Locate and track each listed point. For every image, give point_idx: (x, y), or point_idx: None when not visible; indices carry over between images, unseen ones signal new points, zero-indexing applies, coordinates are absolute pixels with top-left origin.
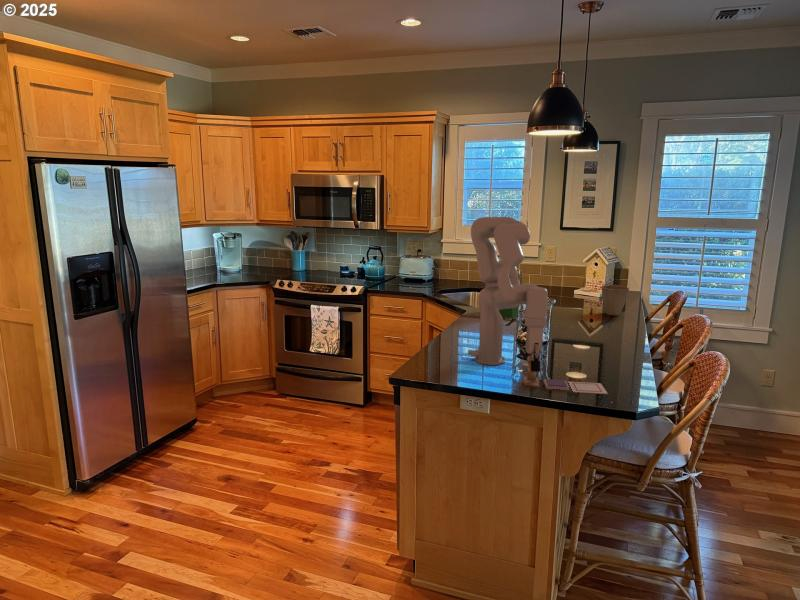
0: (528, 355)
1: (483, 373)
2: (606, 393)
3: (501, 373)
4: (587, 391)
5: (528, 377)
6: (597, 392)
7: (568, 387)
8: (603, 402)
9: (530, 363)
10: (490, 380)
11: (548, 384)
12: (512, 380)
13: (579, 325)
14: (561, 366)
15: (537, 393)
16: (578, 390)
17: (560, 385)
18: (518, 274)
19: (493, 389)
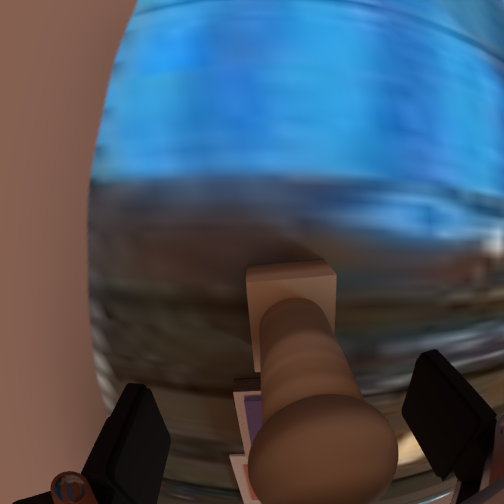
0: (462, 409)
1: (418, 22)
2: (244, 502)
3: (453, 124)
4: (244, 481)
5: (270, 315)
6: (244, 493)
7: (246, 456)
8: (169, 486)
9: (266, 423)
10: (313, 34)
11: (249, 403)
12: (354, 181)
13: None
14: (494, 392)
15: (152, 332)
16: (243, 468)
17: (250, 441)
18: None
19: (143, 63)
